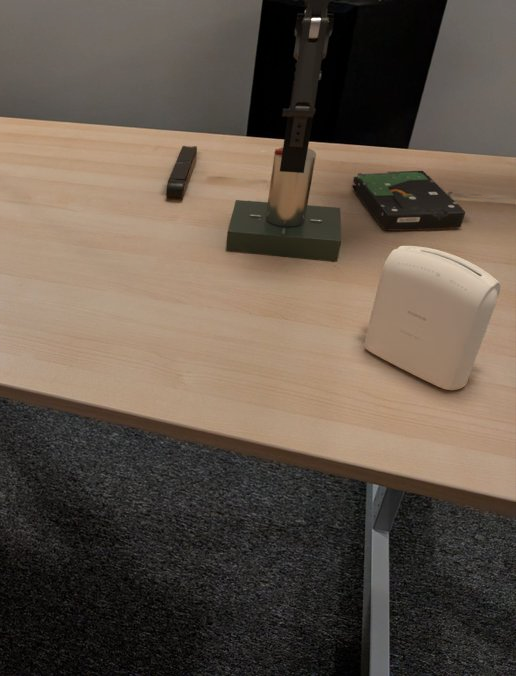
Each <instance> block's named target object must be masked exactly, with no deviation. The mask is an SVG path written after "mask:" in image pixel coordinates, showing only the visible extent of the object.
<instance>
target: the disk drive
mask: <svg viewBox="0 0 516 676" xmlns="http://www.w3.org/2000/svg"><path fill="white" fill-rule="evenodd" d="M352 183H354V184H352V185H351V188H352V191H353V192H354V193H355V194H356V196H357V197H358V198H359V200H360V201H361V203H362V204H363V205H364V206H365V207H366V209H367V210H368V211H369V213H370V214H371V215H372V217H373V218H374V219H375V220H376V222H377V223H378V225H380V227H381V228H382V229H383V230H384V231H413V230H414V231H417V230H419V231H420V230H421V231H422V230H447V229H456V228H462V225H463V222H464V219H465V215H466V211H465V210H464V208H463V207H462V206H461V205H460V204H458V203H457V202H456V200H454V199H453V198H452V197H451V196H450V195H449V194H448V193H447V192H446V191H445V190H443V188H441V186H439V185H438V183H436V182H435V181H434V180H433V179H432V178H431V176H430V175H428V174H427V173H426V172H425V171H424V170H403V171H394V170H393V171H387V172H382V173H381V172H378V173H362V172H359V173H357V175H356V176H354V177H353V180H352Z"/></svg>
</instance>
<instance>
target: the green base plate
mask: <svg viewBox="0 0 516 676" xmlns="http://www.w3.org/2000/svg"><path fill="white" fill-rule="evenodd" d="M267 205H268V201H258V200H257V201H254V200H242V199H241V200H240V199H235V202H234V206H233V209H232V213H231V217H230V220H229V225H228V228H227V233H226V244H225V252H233V253H243V254H253V255H263V256H272V257H273V256H276V257H284V258H285V257H287V258H296V259H306V260H315V261H326V262H338V258H339V256H340V255H339V254H340V250H341V244H342V218H341V217H342V215H341V207H336V206H324V205H323V206H322V205H311V204H309V205H307V211H306V217H305V221H304V223H302V224H301V225H298V226H293V227H283V226H277V225H274V224H272V223H270V222H268V221H267V219H266V213H267Z"/></svg>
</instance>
